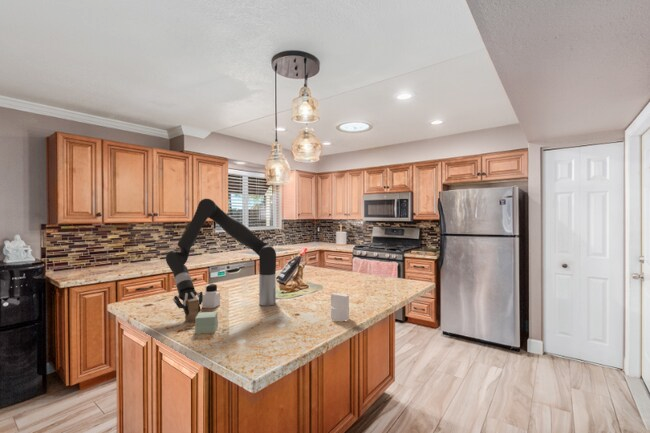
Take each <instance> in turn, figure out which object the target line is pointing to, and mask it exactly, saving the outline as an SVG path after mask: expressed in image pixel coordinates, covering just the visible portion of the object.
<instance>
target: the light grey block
mask: <svg viewBox="0 0 650 433" xmlns="http://www.w3.org/2000/svg"><path fill="white" fill-rule="evenodd" d="M349 298H350V295H349V294H345V293H338V292H332V293H331V294H330V320H331V319H332V320H334V321H333V322H335V321H345V320H348V319H349V320H350V299H349ZM332 320H331V321H332ZM349 320H348V321H349Z"/></svg>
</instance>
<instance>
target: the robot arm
mask: <svg viewBox="0 0 650 433" xmlns="http://www.w3.org/2000/svg"><path fill="white" fill-rule="evenodd" d="M208 219H210V220H212V221H214V223H216V224H217V225H219V226H220V228H221V229H223V230H224V231H225V233H226V234H228V235H229V236H230V237H232V238H233V239H234V240H236V241H237V242H238V243H240V244H242V245H244V246H246V247H247V248H249V249H250V250H252V251H253V252H254V253H256V255H257V256H259V259H258V260H259V261H258V262H259V265H258V267H259V268H258V270H259V272H258V274H259V275H258V278H259V279H258V280H259V283H258V285H259V286H258V287H259V290H258V291H259V292H258V293H259V294H258V295H259V296H258V297H259V298H258V300H259V301H258V304H259V306H262V307H267V306H269V307H271V306H274V305H275V306H276V303H277V302H276V300H277V296H276V294H277V292H276V291H277V290H276V288H277V287H276V286H277V284H276V276H277V275H276V274H277V272H276V270H277V251H276V249H275V248H274V247H273V246H271V245H269V244H268V243H266V242H264V241H263V240H262V239H260V238H259V237H258V236H256V235H255V234H254V233H253V232H252V230H250V229H249V227H247V226H246V225H245V224H243V223H242V222H241V221H240V220H237V219H236V218H234V217H233V216H231V215H229V214H228V213H226V212H224V210H223V209H221V208H220V207H219V206H218V205H217V204H216V202H215V201H214V200H212V199H210V198H203V199H201V200H200V201H199V202H198V205H197V208H196V210H195V213H194V215H193V217H192V219H191V221H190V223H189V224H188V226H187V227H186V229H185V230H184V232H183V234H182V235H181V237H180V238H179V240H178V242H177V247H178V248H180V252H179V251H177V250H169V251H168V252H167V253H166V256H165V261H166V263H167V266H168V267H169V269H170V271H171V272H172V274H173V278H174V281H175V282H174V284H175V287H176V289H177V293H178V295H175V296H174V297H173V300H172V301H173V302H174V304H175V305H176V307H177V308H178V309H183V312H184V314H186V315H188V314H189V310H188V307H187V306H186V305H187V304H186V300H187V299H193V298H194V299H195V298H196V299H198V313H201V312H200V311H201V309H202V308H201V306H202V299H203V294H204V293H203V291H200V292H197V291H196V290H195V286H194V282H193V280H192V279H193V278H192V277H191V275H190V272H189V269H188V267H187V266H186V265H185V264H186V263H187V261H188V258H189V256H190V252H191V248H192V247H193V245H194V243H195V242H196V240H197V238H198V236H199V234H200V232H201V230H202V228H203V226H204V224H205V222H206V221H207V220H208ZM200 305H201V306H200Z"/></svg>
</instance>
